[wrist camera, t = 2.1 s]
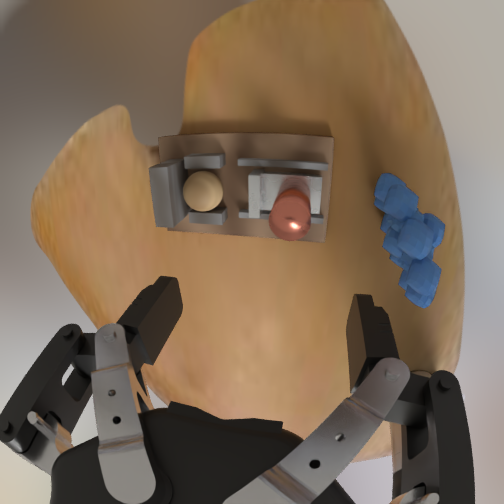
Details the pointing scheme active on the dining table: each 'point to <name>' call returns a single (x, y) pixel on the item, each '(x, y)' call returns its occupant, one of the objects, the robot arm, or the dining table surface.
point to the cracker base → (235, 179)
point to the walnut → (203, 191)
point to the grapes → (409, 238)
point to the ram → (285, 200)
